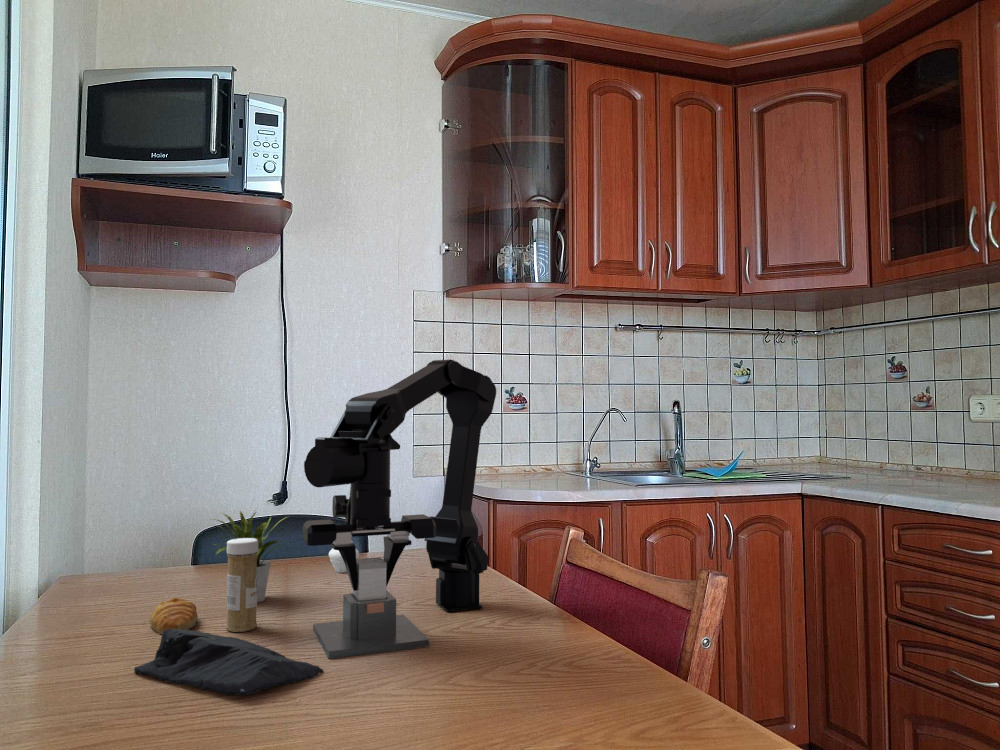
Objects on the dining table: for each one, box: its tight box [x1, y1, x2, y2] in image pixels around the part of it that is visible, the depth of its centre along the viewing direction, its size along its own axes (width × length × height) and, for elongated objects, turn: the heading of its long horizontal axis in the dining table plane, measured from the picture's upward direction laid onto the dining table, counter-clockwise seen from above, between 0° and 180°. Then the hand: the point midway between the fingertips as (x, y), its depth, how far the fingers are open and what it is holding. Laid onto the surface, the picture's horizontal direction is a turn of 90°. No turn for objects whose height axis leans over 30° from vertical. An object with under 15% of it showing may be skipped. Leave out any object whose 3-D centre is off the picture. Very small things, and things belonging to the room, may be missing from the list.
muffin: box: [328, 540, 360, 574], centre depth 156 cm, size 6×6×7 cm
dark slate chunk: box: [133, 629, 324, 697], centre depth 97 cm, size 15×22×5 cm
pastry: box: [149, 597, 199, 635], centre depth 116 cm, size 9×7×4 cm
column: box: [352, 556, 387, 602], centre depth 111 cm, size 4×4×10 cm
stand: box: [312, 590, 430, 660], centre depth 111 cm, size 14×14×6 cm
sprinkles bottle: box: [225, 537, 258, 633], centre depth 116 cm, size 5×5×14 cm
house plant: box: [211, 509, 291, 603], centre depth 133 cm, size 14×14×16 cm
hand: (369, 588), depth 111 cm, fingers closed on column, 4 cm apart
